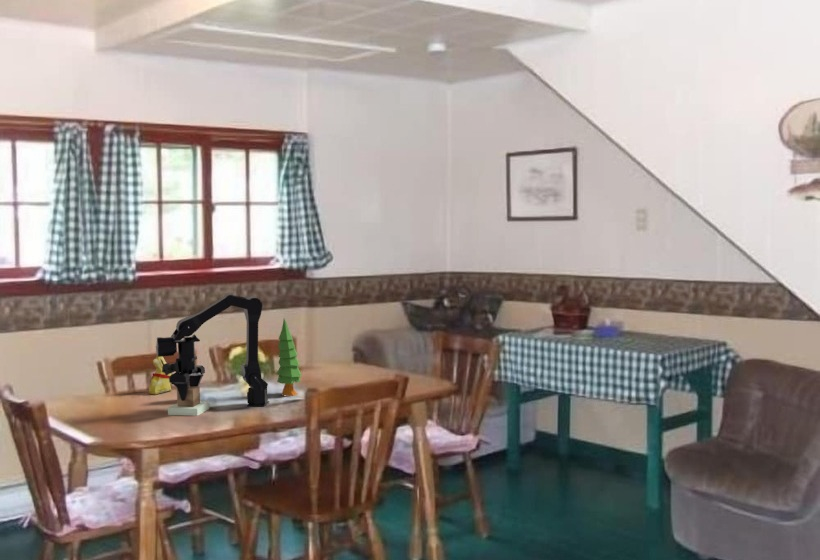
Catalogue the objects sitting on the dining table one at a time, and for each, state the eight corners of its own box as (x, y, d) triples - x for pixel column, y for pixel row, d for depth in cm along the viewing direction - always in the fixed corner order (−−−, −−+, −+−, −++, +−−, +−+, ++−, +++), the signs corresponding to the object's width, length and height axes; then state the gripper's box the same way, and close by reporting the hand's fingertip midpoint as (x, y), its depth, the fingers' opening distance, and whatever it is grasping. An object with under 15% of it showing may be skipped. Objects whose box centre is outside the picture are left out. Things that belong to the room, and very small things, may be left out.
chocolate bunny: (177, 390, 384) (175, 353, 382) (154, 395, 375) (152, 357, 374) (166, 388, 388) (164, 351, 386) (143, 393, 379) (141, 355, 378)
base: (209, 409, 351) (209, 401, 351) (197, 417, 341) (197, 408, 340) (180, 409, 353) (180, 401, 353) (168, 416, 343) (167, 408, 342)
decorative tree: (274, 393, 374) (271, 316, 372) (297, 390, 379) (294, 314, 376) (284, 398, 366) (281, 319, 363) (307, 395, 371) (304, 317, 368)
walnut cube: (200, 403, 349) (199, 386, 349) (193, 406, 343) (192, 390, 343) (184, 402, 350) (183, 386, 350) (177, 406, 344) (176, 389, 344)
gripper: (175, 349, 355) (177, 391, 357) (154, 359, 337) (156, 403, 339) (204, 350, 354) (206, 392, 355) (184, 359, 335) (186, 403, 337)
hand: (188, 397), depth 346 cm, fingers open, 9 cm apart
